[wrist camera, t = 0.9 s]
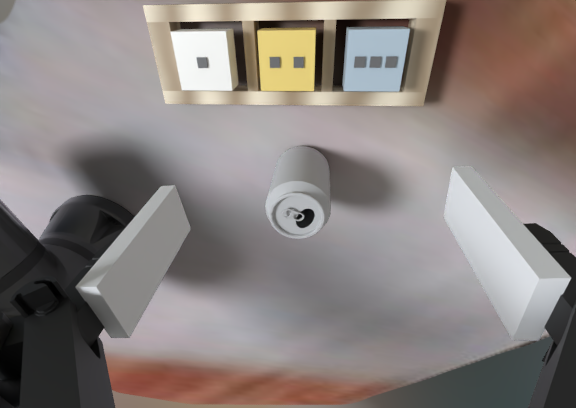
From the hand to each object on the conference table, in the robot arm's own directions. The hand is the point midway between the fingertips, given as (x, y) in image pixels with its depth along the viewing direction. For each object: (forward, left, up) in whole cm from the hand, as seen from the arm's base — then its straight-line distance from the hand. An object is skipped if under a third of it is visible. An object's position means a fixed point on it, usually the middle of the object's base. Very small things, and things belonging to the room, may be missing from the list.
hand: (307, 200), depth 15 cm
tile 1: (-12, +3, -24) cm, 27 cm away
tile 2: (-3, +3, -24) cm, 24 cm away
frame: (-3, +3, -27) cm, 27 cm away
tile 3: (+6, +3, -24) cm, 25 cm away
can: (-2, -12, -27) cm, 29 cm away
